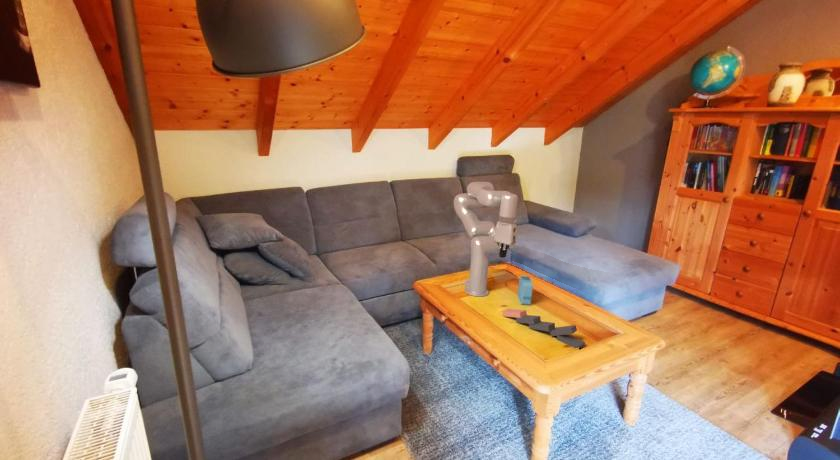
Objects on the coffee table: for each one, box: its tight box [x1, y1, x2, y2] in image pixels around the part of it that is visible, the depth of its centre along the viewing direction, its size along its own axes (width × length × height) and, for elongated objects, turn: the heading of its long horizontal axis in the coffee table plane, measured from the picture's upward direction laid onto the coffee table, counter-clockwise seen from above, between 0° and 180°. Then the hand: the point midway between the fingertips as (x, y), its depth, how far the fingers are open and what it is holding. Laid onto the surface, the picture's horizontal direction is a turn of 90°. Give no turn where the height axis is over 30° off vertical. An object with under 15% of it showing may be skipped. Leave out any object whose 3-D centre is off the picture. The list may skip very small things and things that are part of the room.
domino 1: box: [502, 308, 528, 318], centre depth 189 cm, size 2×5×10 cm
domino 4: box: [549, 324, 578, 337], centre depth 174 cm, size 2×5×10 cm
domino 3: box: [528, 320, 556, 332], centre depth 179 cm, size 2×5×10 cm
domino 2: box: [515, 314, 542, 325], centre depth 184 cm, size 2×5×10 cm
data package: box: [517, 275, 534, 306], centre depth 210 cm, size 12×4×12 cm, turn 177°
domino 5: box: [556, 334, 586, 349], centre depth 171 cm, size 2×5×10 cm
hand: (502, 256), depth 193 cm, fingers closed
